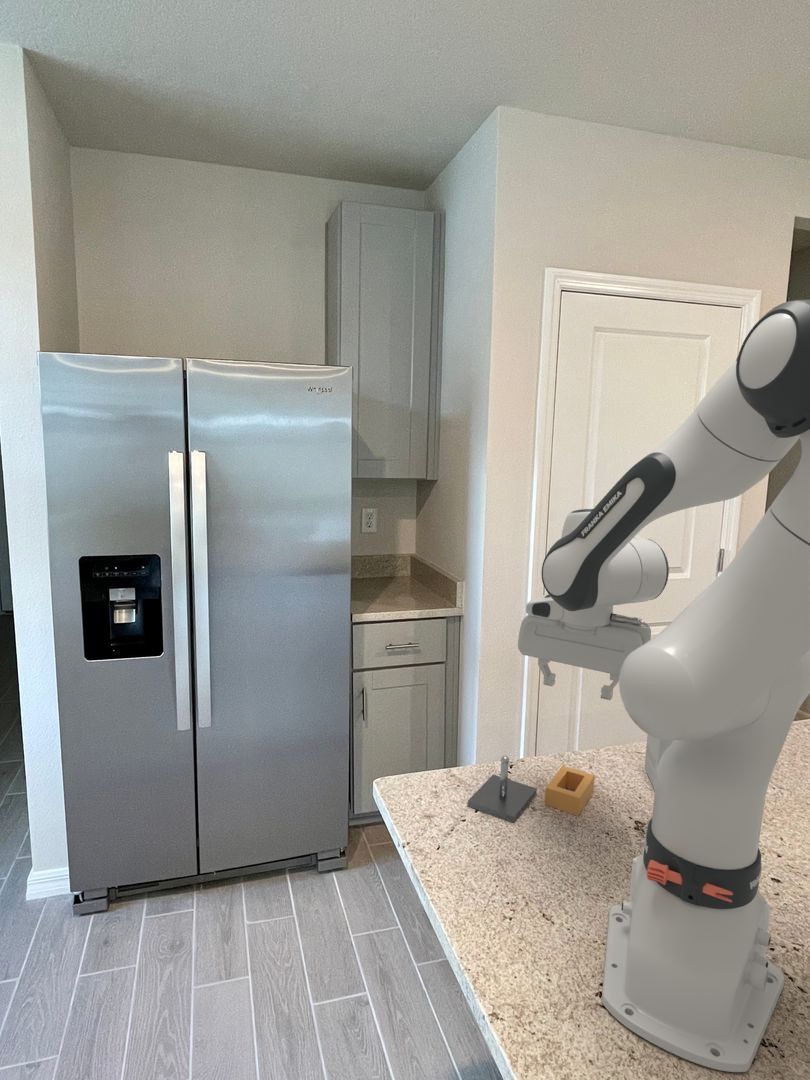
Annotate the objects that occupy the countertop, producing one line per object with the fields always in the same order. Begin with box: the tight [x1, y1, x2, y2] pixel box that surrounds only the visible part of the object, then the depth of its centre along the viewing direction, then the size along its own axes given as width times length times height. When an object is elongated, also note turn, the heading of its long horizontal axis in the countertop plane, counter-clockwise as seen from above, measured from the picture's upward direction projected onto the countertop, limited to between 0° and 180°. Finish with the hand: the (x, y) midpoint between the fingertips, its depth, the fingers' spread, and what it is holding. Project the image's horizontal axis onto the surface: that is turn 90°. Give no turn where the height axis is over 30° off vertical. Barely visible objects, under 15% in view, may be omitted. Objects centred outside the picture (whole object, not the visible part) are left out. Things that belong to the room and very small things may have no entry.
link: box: [544, 765, 596, 816], centre depth 107 cm, size 9×6×3 cm, turn 148°
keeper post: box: [467, 755, 538, 823], centre depth 105 cm, size 10×8×8 cm
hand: (577, 691), depth 104 cm, fingers open, 8 cm apart
